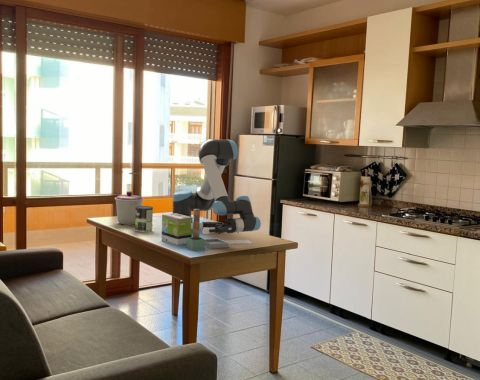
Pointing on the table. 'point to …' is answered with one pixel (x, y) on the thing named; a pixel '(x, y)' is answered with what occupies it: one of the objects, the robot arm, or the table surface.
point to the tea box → (176, 228)
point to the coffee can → (143, 218)
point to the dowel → (196, 224)
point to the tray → (215, 243)
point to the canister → (127, 207)
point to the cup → (195, 243)
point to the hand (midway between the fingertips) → (196, 228)
